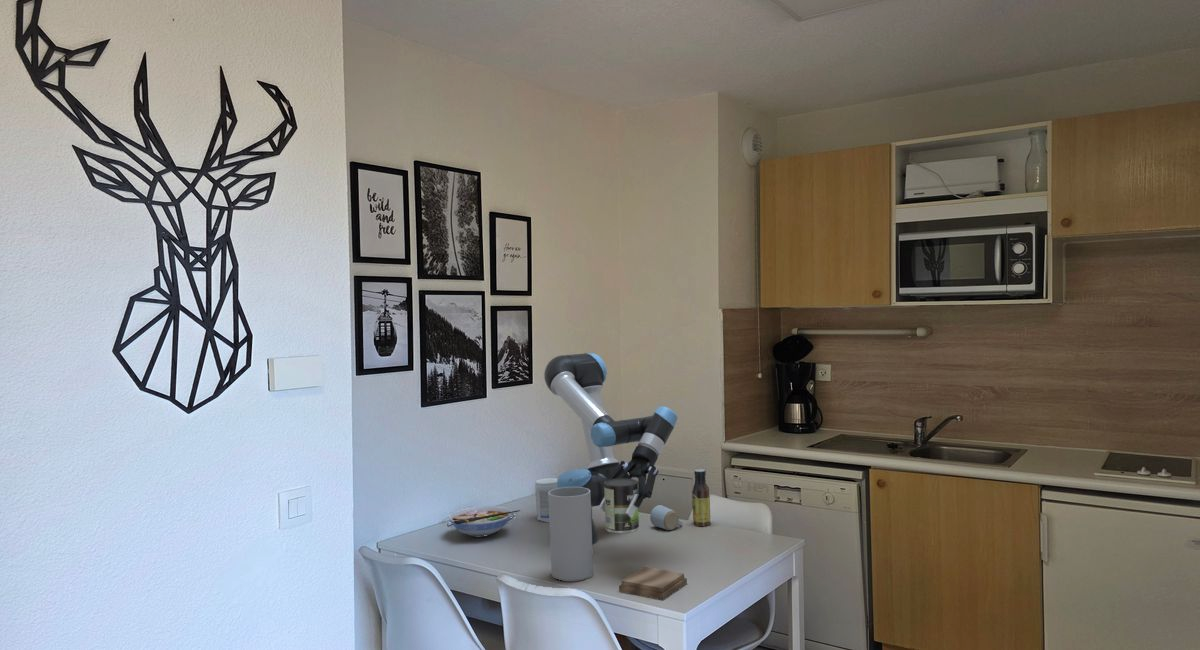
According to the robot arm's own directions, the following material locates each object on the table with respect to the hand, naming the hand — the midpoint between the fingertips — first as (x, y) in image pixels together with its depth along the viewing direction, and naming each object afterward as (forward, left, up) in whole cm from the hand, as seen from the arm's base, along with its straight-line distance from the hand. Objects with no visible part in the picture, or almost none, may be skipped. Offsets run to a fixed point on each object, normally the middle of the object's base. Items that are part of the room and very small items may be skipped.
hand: (615, 512), depth 233 cm
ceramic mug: (-10, +50, -19) cm, 54 cm away
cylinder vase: (-11, -7, -19) cm, 23 cm away
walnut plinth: (+15, -5, -18) cm, 24 cm away
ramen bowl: (-65, +13, -19) cm, 69 cm away
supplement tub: (-55, +40, -19) cm, 71 cm away
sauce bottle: (0, +58, -19) cm, 61 cm away
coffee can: (0, +3, -6) cm, 6 cm away
